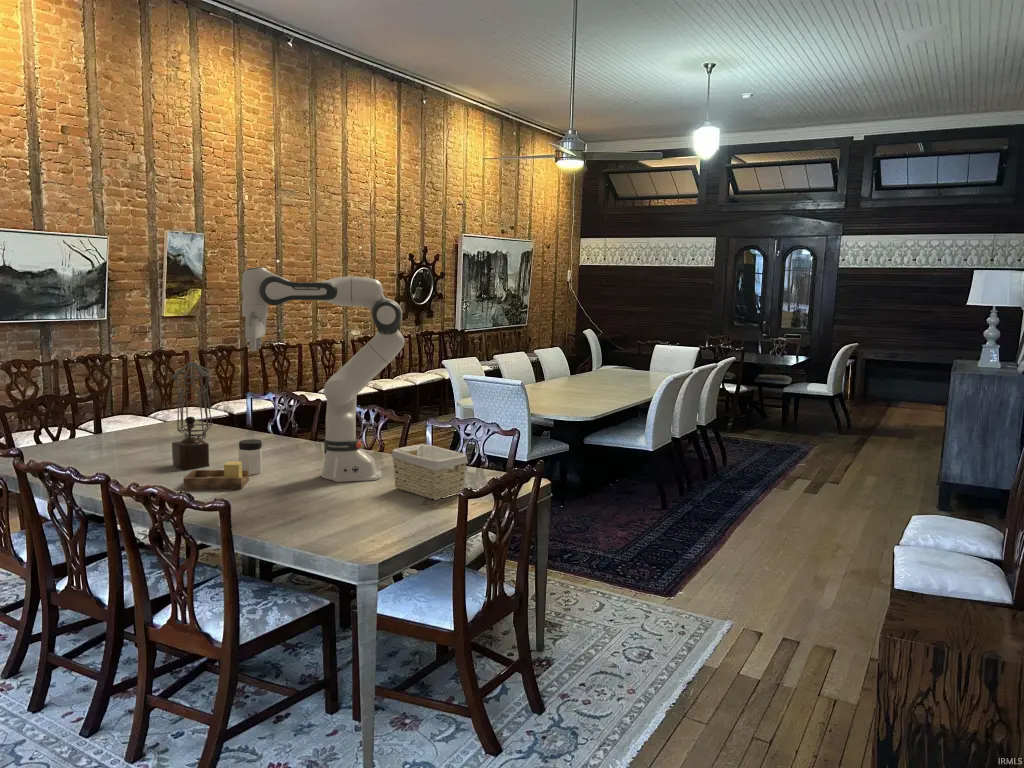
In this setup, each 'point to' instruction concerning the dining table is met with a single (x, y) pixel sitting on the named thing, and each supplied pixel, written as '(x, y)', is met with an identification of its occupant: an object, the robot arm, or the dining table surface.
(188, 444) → the dark brown knobbed box
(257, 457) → the jar
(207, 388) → the geometric lantern
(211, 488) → the wooden tray
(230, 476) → the block
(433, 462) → the storage basket
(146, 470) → the dining table surface
